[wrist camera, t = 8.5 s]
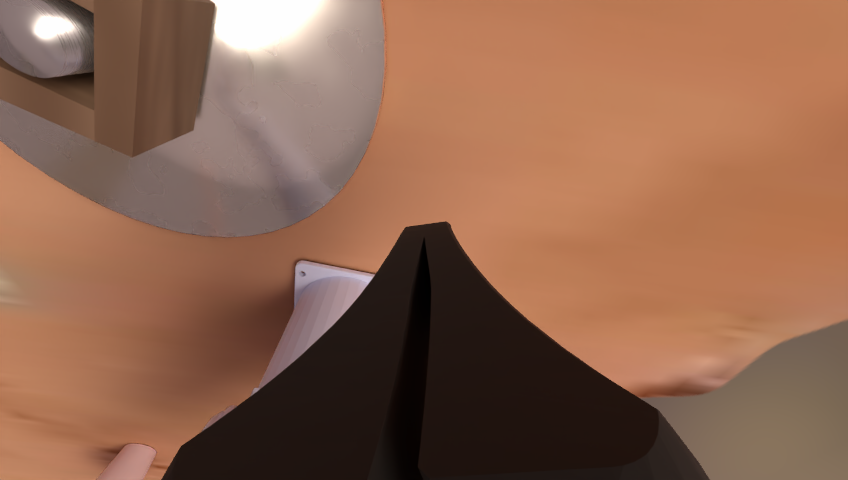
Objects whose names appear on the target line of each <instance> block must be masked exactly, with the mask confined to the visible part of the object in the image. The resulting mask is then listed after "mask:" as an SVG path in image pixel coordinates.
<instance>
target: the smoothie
mask: <svg viewBox="0 0 848 480" xmlns="http://www.w3.org/2000/svg"><path fill="white" fill-rule="evenodd" d="M156 453H157V452H156V450H155V449H153V448H151V447H149V446H146V445H142V444H135V443H132V444H127V445H125V447H124V448H123V449H122V450H121V451H120V452H119V453H118V455H117V456H116V457H115V458H114V459H113V460H112V462H111V463H110V464H109V465H108V466H107V467H106V469H105V470H104V471H103V472H102V473H101V474H100V475H99V477H98V478H97V479H96V480H143V479H144V477H145V475H146V473H147V471H148V469H149V467H150V465H151V463H152V461H153V459H154V457H155V455H156Z"/></svg>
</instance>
